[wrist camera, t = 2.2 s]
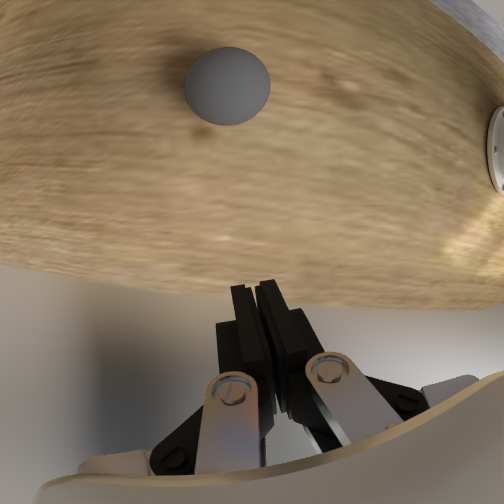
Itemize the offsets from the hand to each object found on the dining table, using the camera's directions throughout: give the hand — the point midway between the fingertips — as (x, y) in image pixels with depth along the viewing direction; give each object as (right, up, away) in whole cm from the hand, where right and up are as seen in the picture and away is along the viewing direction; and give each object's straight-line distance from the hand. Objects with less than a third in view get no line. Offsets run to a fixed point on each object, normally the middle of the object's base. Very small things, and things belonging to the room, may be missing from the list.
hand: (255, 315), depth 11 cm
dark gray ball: (-2, +13, +5) cm, 14 cm away
